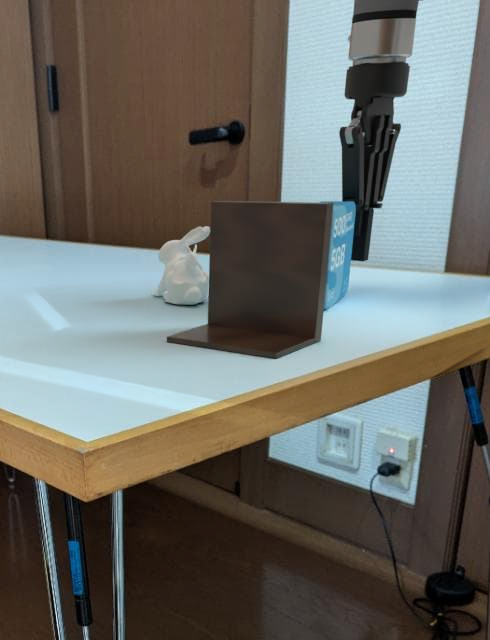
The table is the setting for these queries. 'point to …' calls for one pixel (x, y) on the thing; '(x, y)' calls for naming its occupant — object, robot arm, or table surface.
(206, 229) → the rabbit figurine
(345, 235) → the data package
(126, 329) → the table surface
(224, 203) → the bookend
